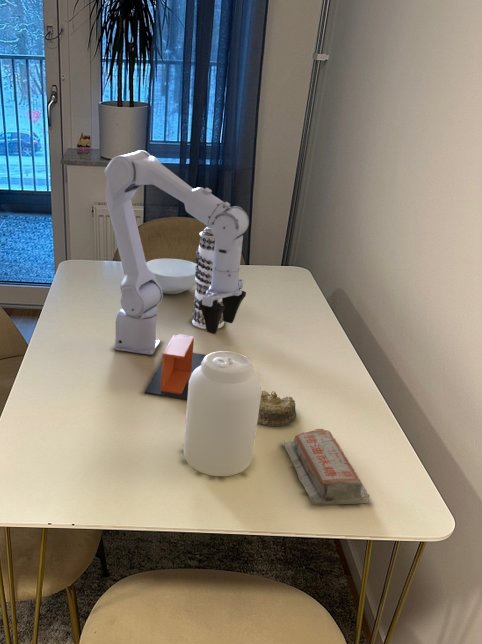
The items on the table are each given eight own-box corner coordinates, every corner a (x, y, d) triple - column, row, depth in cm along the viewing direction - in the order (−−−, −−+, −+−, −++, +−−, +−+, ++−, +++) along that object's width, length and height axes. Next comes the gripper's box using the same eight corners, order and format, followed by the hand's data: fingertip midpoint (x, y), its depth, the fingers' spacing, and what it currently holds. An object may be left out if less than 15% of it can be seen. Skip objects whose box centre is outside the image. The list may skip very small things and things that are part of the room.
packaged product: (376, 481, 106) (316, 483, 105) (369, 505, 108) (311, 507, 107) (338, 423, 121) (286, 424, 120) (333, 444, 123) (282, 446, 122)
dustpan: (160, 391, 138) (162, 353, 133) (178, 358, 152) (180, 322, 147) (181, 394, 137) (183, 356, 132) (196, 360, 151) (199, 325, 146)
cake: (293, 432, 127) (296, 410, 124) (242, 424, 130) (245, 402, 127) (298, 405, 135) (302, 383, 132) (251, 397, 138) (253, 376, 134)
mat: (144, 393, 138) (144, 391, 138) (168, 350, 156) (168, 349, 156) (227, 406, 134) (228, 405, 134) (242, 361, 152) (242, 360, 152)
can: (202, 485, 111) (212, 382, 101) (171, 446, 121) (177, 349, 110) (264, 469, 116) (280, 370, 105) (229, 433, 125) (240, 339, 115)
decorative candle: (216, 314, 176) (225, 222, 163) (230, 328, 169) (241, 232, 156) (185, 317, 174) (192, 224, 161) (198, 331, 166) (206, 234, 153)
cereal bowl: (200, 301, 185) (202, 277, 181) (142, 299, 185) (143, 275, 181) (197, 280, 199) (199, 258, 195) (143, 278, 199) (144, 256, 195)
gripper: (225, 281, 130) (219, 342, 137) (258, 263, 140) (250, 321, 147) (195, 273, 133) (191, 334, 140) (229, 256, 143) (223, 314, 150)
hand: (219, 327), depth 144 cm, fingers open, 7 cm apart
